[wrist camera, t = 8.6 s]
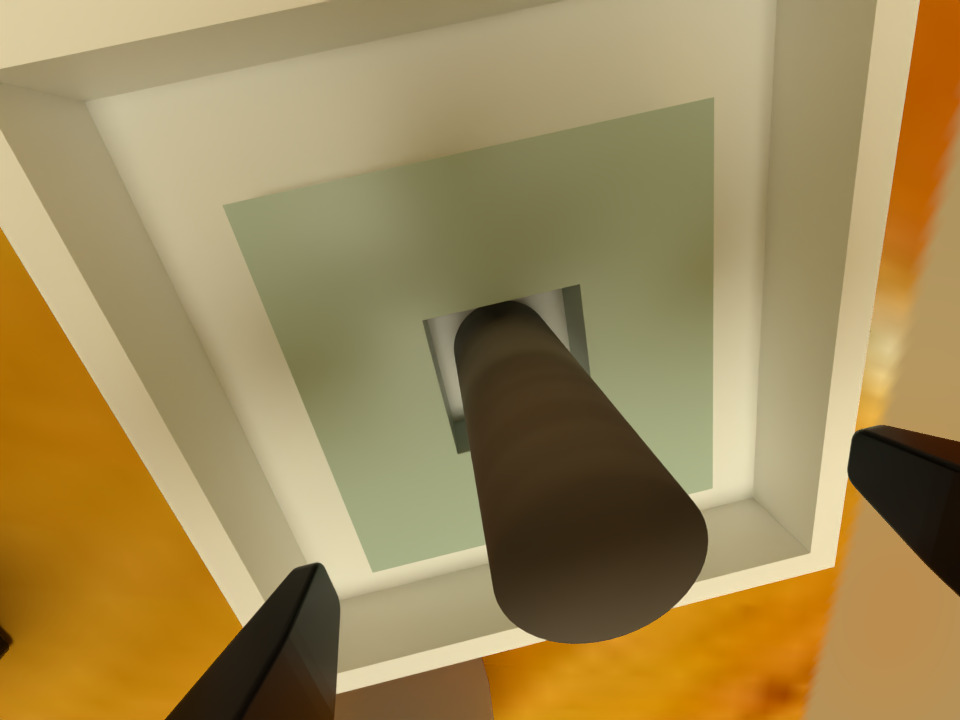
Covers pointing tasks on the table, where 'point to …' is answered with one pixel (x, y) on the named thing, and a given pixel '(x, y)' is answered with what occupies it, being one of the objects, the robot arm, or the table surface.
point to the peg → (567, 488)
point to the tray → (404, 96)
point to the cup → (423, 696)
